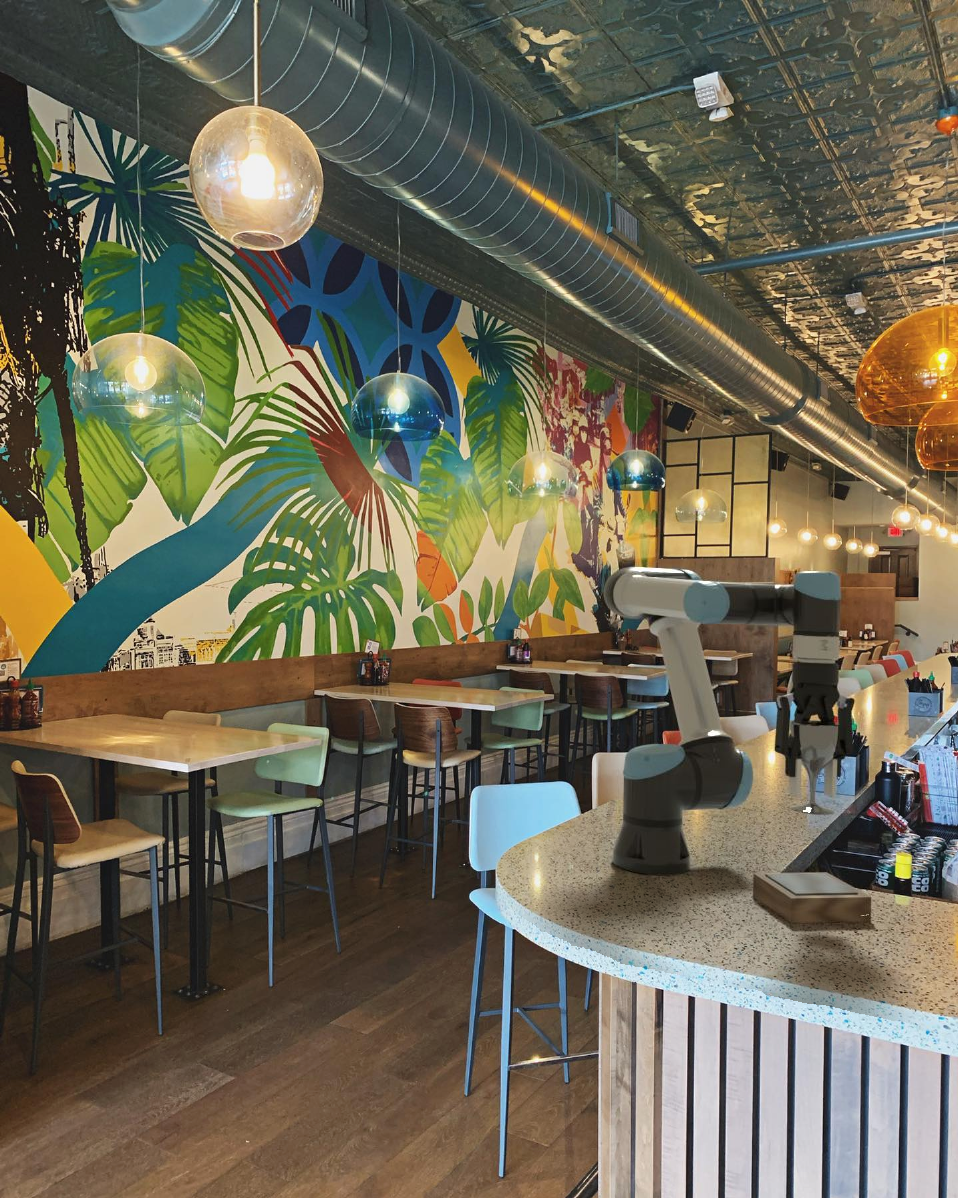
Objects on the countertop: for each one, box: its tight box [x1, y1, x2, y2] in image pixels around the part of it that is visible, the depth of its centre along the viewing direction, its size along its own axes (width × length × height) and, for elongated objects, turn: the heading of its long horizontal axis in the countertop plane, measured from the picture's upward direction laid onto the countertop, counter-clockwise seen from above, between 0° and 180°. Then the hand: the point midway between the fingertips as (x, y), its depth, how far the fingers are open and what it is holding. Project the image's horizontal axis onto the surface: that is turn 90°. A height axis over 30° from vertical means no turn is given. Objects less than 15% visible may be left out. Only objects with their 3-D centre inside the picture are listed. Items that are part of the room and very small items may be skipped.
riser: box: [752, 871, 872, 924], centre depth 153 cm, size 14×14×4 cm
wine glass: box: [789, 719, 839, 816], centre depth 153 cm, size 8×8×15 cm
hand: (812, 795), depth 153 cm, fingers closed on wine glass, 6 cm apart
